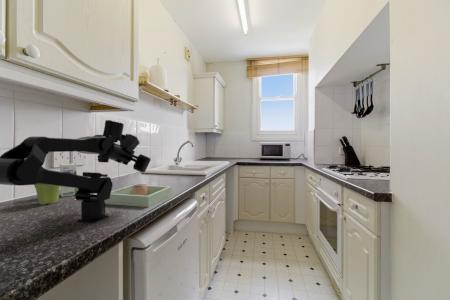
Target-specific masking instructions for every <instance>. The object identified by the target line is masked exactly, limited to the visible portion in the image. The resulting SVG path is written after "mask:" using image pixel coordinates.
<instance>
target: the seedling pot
mask: <svg viewBox="0 0 450 300" xmlns="http://www.w3.org/2000/svg"><path fill="white" fill-rule="evenodd" d="M132 185H133V186H132V195H143V196H148V194H147V185H148V184H145V183H144V184H132Z"/></svg>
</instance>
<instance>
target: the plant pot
mask: <svg viewBox="0 0 450 300" xmlns="http://www.w3.org/2000/svg"><path fill="white" fill-rule="evenodd" d="M34 188H35V191H36V195H37V201H38V205H42V206H45V205H46V204H51V205H53V204H55V203H58V202H59V198H60V197H59V196H60V186H54V185H45V184H35V185H34Z"/></svg>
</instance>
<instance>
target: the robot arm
mask: <svg viewBox="0 0 450 300" xmlns="http://www.w3.org/2000/svg"><path fill="white" fill-rule="evenodd" d="M124 126H125V125H124V123H123V122H119V121H115V120H112V119H111V120H110V119H107V120H105V122H104V127H103V132H102V133H103V134H95V135H92V136H82V137H79V138H64V137H63V138H62V137H60V138H59V137H47V136H29V137H26V138H25V139H24V140H23V141H22V142H20V143H19V144H18V145H15V146H14V147H12V148H10V149H9V150H7V151H5V152H4V153H2V154H1V155H0V185H5V186H18V187H19V186H30V185H31V186H33V185H35V184H45V185H54V186H62V187H71V188H77V192H76V193H75V195H74V197H75V199H76V200H75V201H81V200H83V201H81V202H80V205H81V206H80V207H81V209H80V211H81V217H79V218H76V221H78V222H88V223H96V222H99V221H100V220H101V221H102V220H103V219H105V218H108V217H109V215H110V214H107V213H106V204H105V200H107V199H109V198H110V194H111V191H113V190H112V189H113V181H112V178H111V177H109V176H108V174H106V173H105V174H103V173H102V172H101V173H100V172H94V171H93V172H92V171H91V172H89V171H86V172H85V171H83V172H82V175H80V174H76V175H75V174H69V173H64V172H60V170H59V171H58V170H52V169H47V168H44V164H45V159H46V157H47V155H48V154H49V153H57V152H58V153H59V152H60V153H61V152H78V153H80V154H81V153H82V154H86V155H97V162H98V163H109V160H110V161H114V162H116V163H119V164H123V165H125V166H128V164H129V163H130V162H134V164H133V169H134V170H135V171H138V172H139V173H145V172H146V170H147V168H148V167H149V165H150V162H151V158H150V157H149V156H146V155H144V154H141V153H140V154H139V155H138V156H137V155H135V153H136V151H135V149H136V148H137V147H138V145H140V143H141V142H140V140H139V139H138V137H137V136H136V135H134V134H133V135H132V134H131V133H125V134H123V131H124ZM118 141H119V143H118ZM95 194H97V195H95Z"/></svg>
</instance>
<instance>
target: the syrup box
mask: <svg viewBox="0 0 450 300" xmlns="http://www.w3.org/2000/svg"><path fill="white" fill-rule="evenodd" d="M59 172H64V173H69V174H75V175H77V163H72V162H71V163H60V164H59ZM77 191H78V189H77V188H71V187H62V186H60V190H59V192H60V196H61V198H64V197H71V196H75V193H76V192H77Z"/></svg>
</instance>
